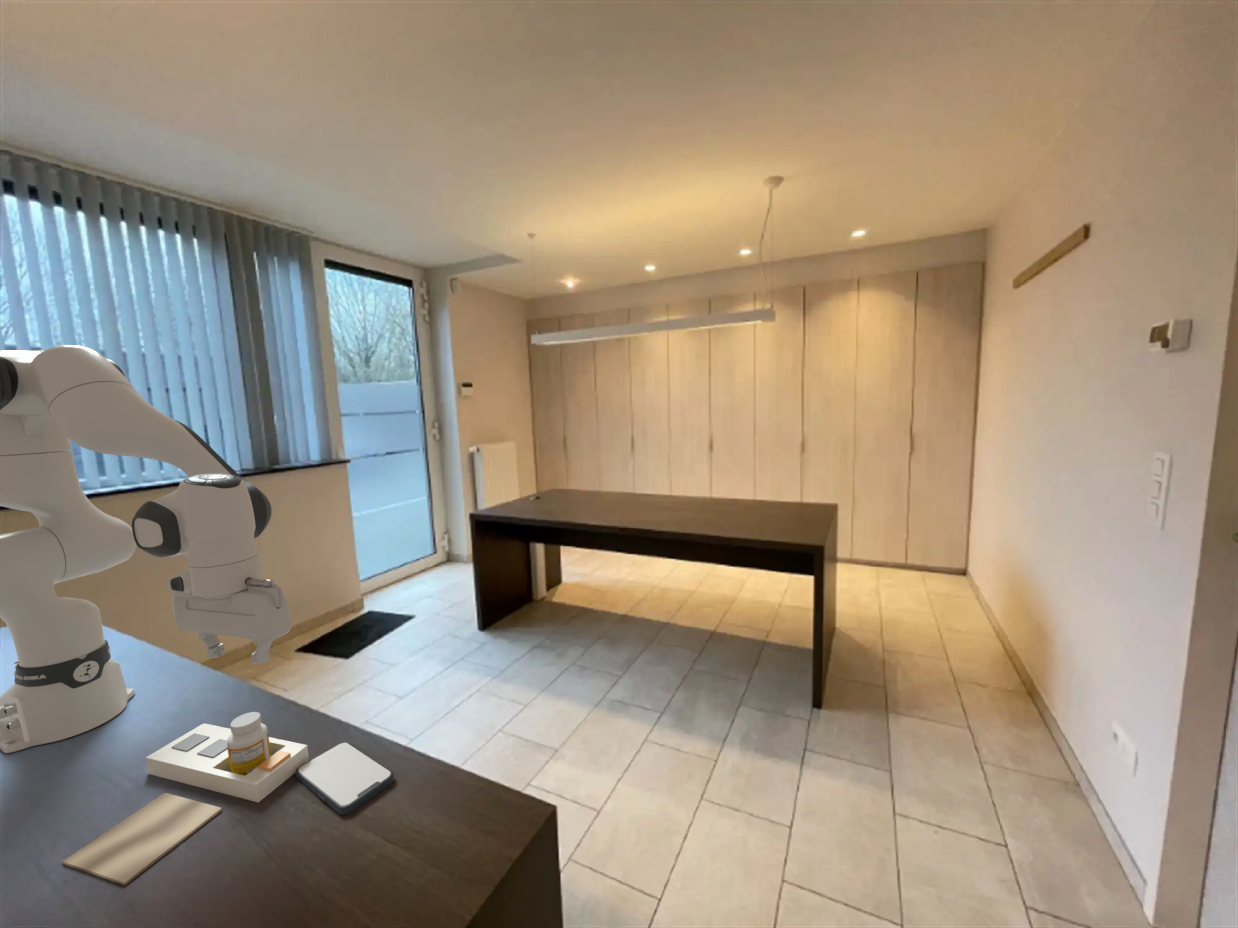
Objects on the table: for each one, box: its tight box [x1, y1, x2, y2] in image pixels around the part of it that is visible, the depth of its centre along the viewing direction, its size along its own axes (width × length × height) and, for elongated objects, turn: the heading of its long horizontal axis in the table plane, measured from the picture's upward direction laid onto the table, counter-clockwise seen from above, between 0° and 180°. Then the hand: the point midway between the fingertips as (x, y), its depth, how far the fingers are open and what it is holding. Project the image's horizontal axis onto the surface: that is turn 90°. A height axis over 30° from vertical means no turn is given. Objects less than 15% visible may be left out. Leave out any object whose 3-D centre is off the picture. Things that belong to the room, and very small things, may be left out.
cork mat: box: [62, 792, 223, 886], centre depth 70 cm, size 12×12×1 cm
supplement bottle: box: [227, 711, 271, 776], centre depth 81 cm, size 5×5×10 cm
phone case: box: [294, 741, 395, 816], centre depth 80 cm, size 9×2×16 cm
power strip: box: [145, 722, 310, 803], centre depth 83 cm, size 24×9×4 cm, turn 75°
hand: (238, 658), depth 79 cm, fingers open, 8 cm apart
